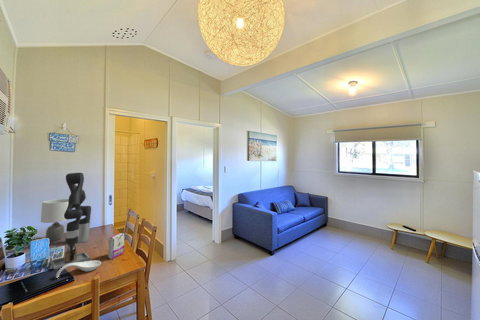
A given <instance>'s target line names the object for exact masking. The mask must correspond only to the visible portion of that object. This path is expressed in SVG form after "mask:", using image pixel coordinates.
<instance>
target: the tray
mask: <svg viewBox="0 0 480 320" xmlns="http://www.w3.org/2000/svg"><path fill="white" fill-rule="evenodd" d="M85 261H91V257H90V256H89V255H88V254H87V252H85V251H83V252H77V260H74V261H70V262H66V261H65V256H63V257H59V258H55V259H52V260H50V266H51V267H52V270H53V269H58V268H61V267H63V266H65V265H67V264H70V263H76V262H85Z"/></svg>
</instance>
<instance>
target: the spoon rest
mask: <svg viewBox="0 0 480 320" xmlns="http://www.w3.org/2000/svg"><path fill="white" fill-rule="evenodd" d="M101 264H102V261H100V260H90V261H85V262H76V263H70V264H67V265H65V266H63V267H62V268H60V269H59V270H57V272H56V274H55V279H56V278H58V277H59V278H60V275H61V272H63V271H64V270H66V269H67V268H69V267H70V268H71V267H75V268H77V269H79V270H81V271H83V272H92V271H94V270H97V269H98V268H99V267H100V266H101ZM59 278H58V279H59Z"/></svg>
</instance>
